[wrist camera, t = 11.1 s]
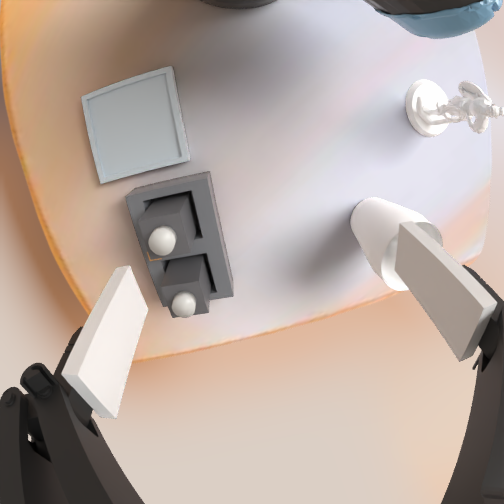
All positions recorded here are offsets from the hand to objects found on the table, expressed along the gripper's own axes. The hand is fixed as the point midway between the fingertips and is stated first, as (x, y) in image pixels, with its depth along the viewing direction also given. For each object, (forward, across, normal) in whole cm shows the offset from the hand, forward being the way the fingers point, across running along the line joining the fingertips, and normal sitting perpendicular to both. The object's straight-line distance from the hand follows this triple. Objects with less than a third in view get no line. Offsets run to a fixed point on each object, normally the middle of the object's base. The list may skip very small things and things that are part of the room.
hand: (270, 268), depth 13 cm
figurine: (+25, +27, +6) cm, 38 cm away
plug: (+23, -10, -12) cm, 27 cm away
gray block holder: (+24, -10, -8) cm, 27 cm away
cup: (+24, +16, -10) cm, 31 cm away
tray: (+24, -13, +8) cm, 28 cm away
